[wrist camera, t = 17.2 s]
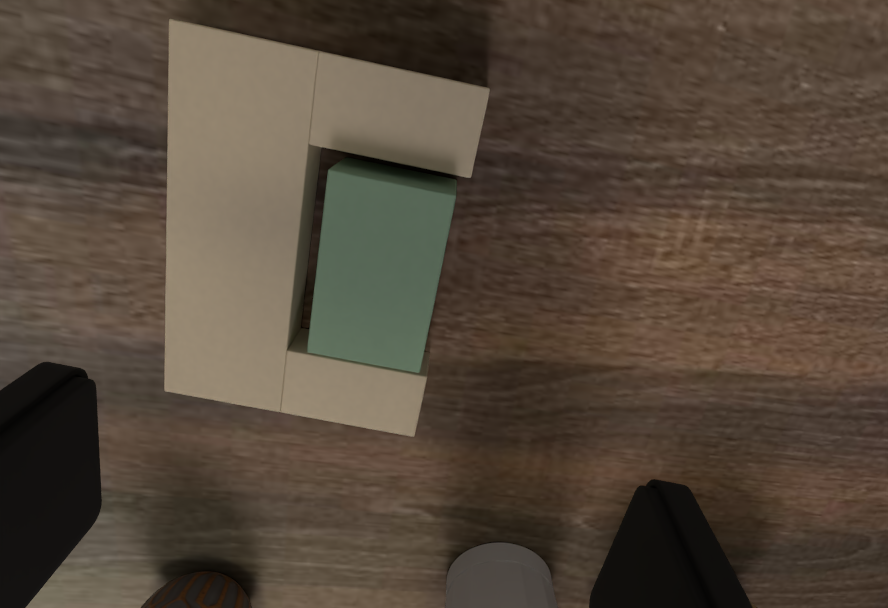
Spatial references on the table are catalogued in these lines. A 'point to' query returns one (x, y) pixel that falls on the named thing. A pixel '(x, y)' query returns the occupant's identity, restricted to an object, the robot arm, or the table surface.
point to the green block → (379, 263)
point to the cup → (499, 579)
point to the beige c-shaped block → (283, 213)
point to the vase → (200, 592)
